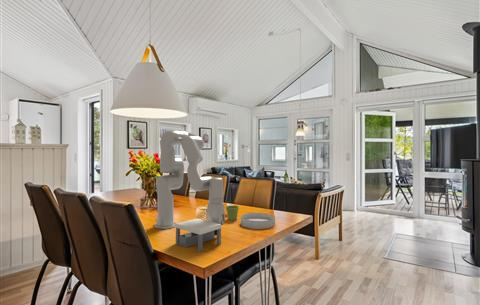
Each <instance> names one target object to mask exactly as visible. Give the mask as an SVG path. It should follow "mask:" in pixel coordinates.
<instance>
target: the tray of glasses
mask: <svg viewBox="0 0 480 305" xmlns="http://www.w3.org/2000/svg"><path fill="white" fill-rule="evenodd" d="M215 239H216V238H215V231H211V232H207V233H204V234H203V243H205V241H206V242H209V241H212V240H215ZM178 245H180V246H182V247H184V248H188V247H192V246H195V245H198V234H196V233H192V232H186V233H184V234H180V235H179V244H178Z"/></svg>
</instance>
